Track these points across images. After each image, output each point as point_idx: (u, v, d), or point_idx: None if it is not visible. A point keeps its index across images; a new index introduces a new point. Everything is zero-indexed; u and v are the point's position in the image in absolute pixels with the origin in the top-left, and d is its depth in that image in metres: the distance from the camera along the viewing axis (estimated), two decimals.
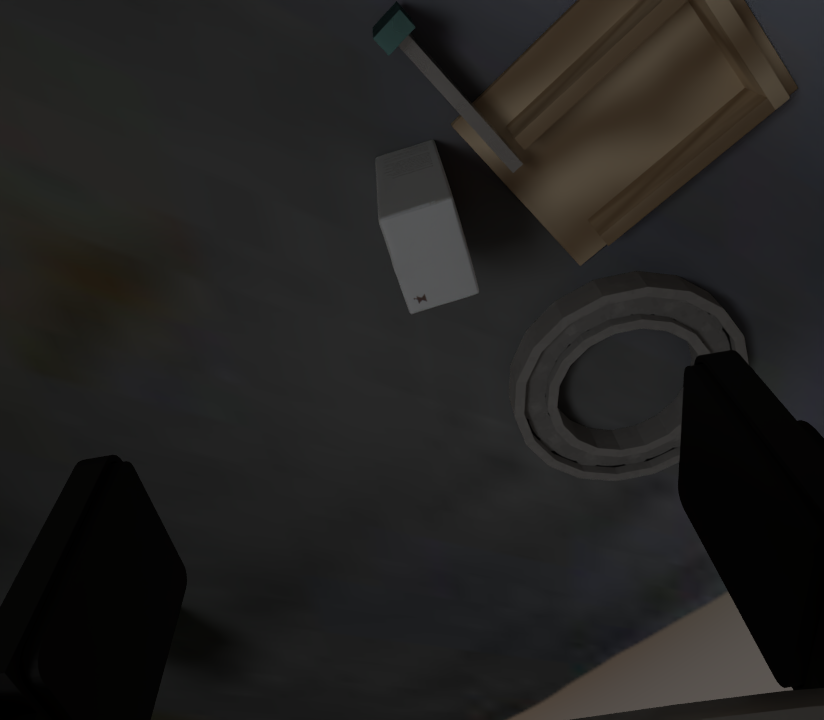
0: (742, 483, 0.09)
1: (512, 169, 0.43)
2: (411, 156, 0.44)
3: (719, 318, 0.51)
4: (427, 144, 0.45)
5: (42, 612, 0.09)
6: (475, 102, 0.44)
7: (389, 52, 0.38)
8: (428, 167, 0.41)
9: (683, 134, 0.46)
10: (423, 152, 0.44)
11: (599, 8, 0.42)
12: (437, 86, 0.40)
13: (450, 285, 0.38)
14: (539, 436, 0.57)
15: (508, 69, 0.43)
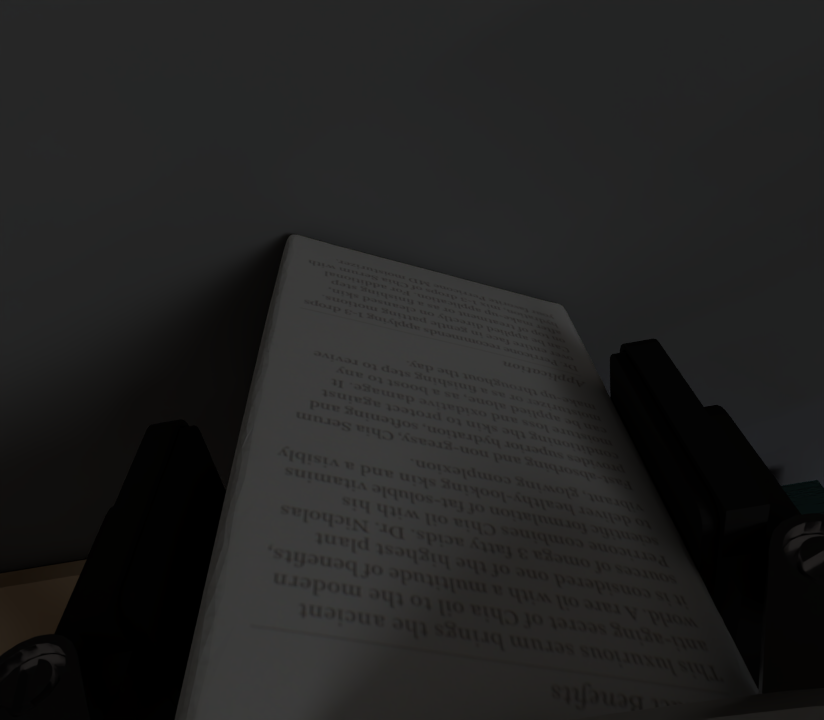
0: (653, 462, 0.10)
1: None
2: None
3: None
4: None
5: (133, 558, 0.09)
6: None
7: None
8: None
9: None
10: None
11: None
12: None
13: None
14: None
15: None
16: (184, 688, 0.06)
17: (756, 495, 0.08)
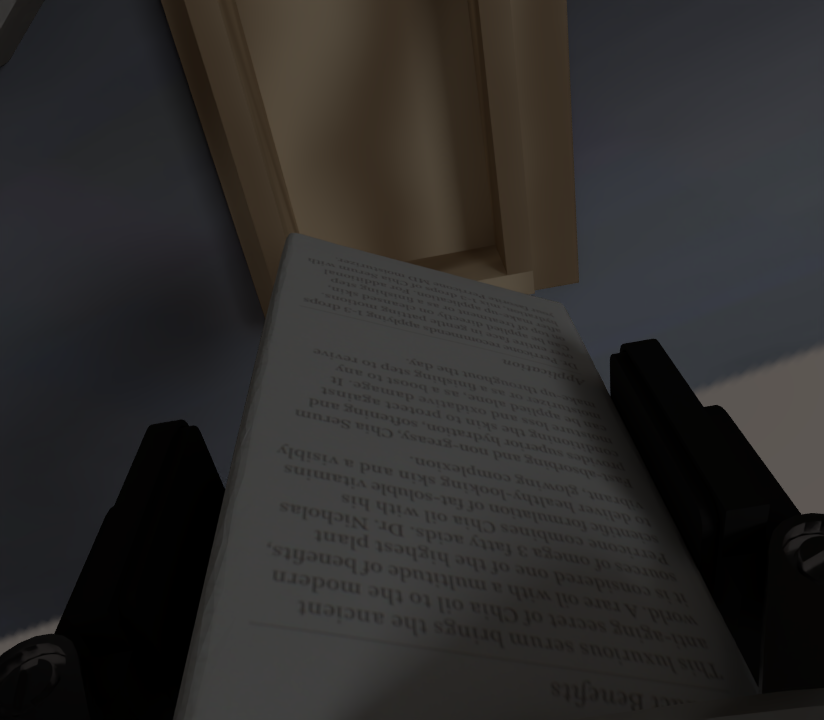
0: (653, 462, 0.10)
1: None
2: None
3: None
4: None
5: (134, 558, 0.09)
6: None
7: None
8: None
9: (291, 177, 0.28)
10: None
11: (542, 139, 0.27)
12: None
13: None
14: None
15: None
16: (182, 685, 0.06)
17: (755, 495, 0.08)
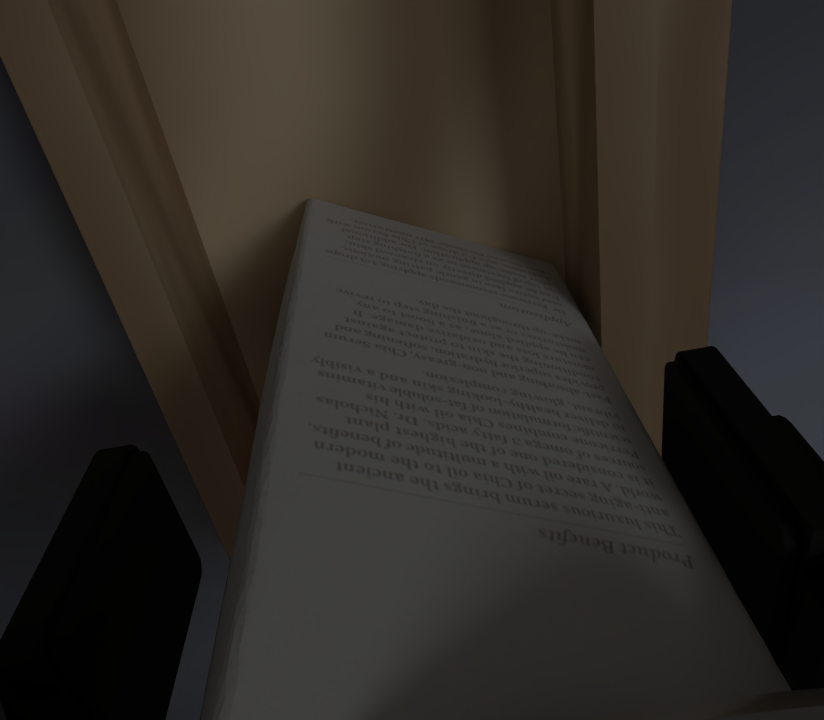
0: (718, 476, 0.09)
1: None
2: None
3: None
4: None
5: (66, 596, 0.09)
6: None
7: None
8: None
9: (248, 339, 0.17)
10: None
11: (663, 279, 0.17)
12: None
13: None
14: None
15: None
16: (250, 512, 0.07)
17: None
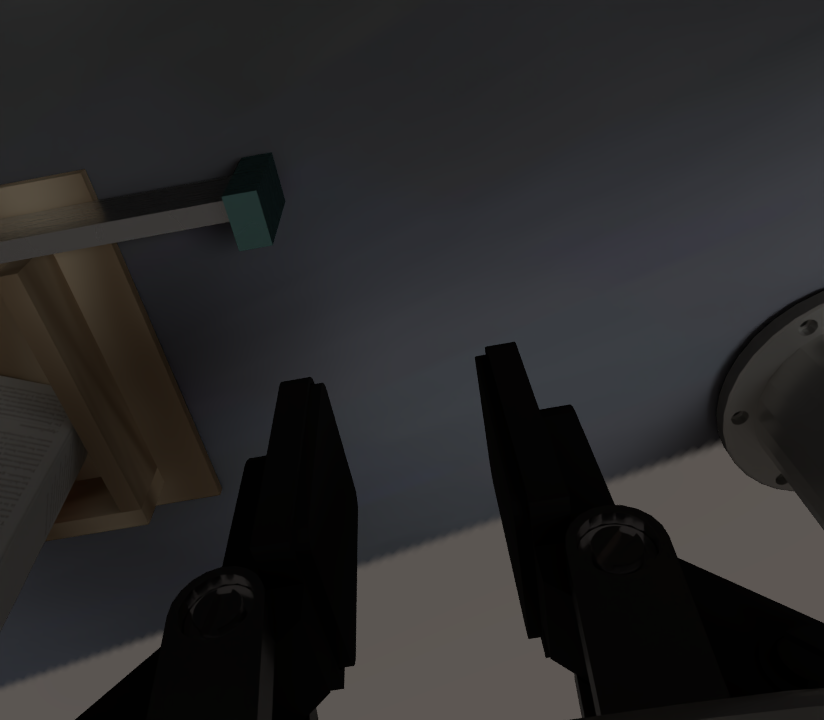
0: (496, 458, 0.11)
1: None
2: (72, 466, 0.32)
3: None
4: (81, 462, 0.34)
5: (298, 498, 0.10)
6: None
7: (225, 200, 0.23)
8: (44, 532, 0.30)
9: None
10: (72, 477, 0.32)
11: (153, 398, 0.33)
12: (145, 218, 0.25)
13: None
14: None
15: (128, 279, 0.30)
16: None
17: (559, 489, 0.09)
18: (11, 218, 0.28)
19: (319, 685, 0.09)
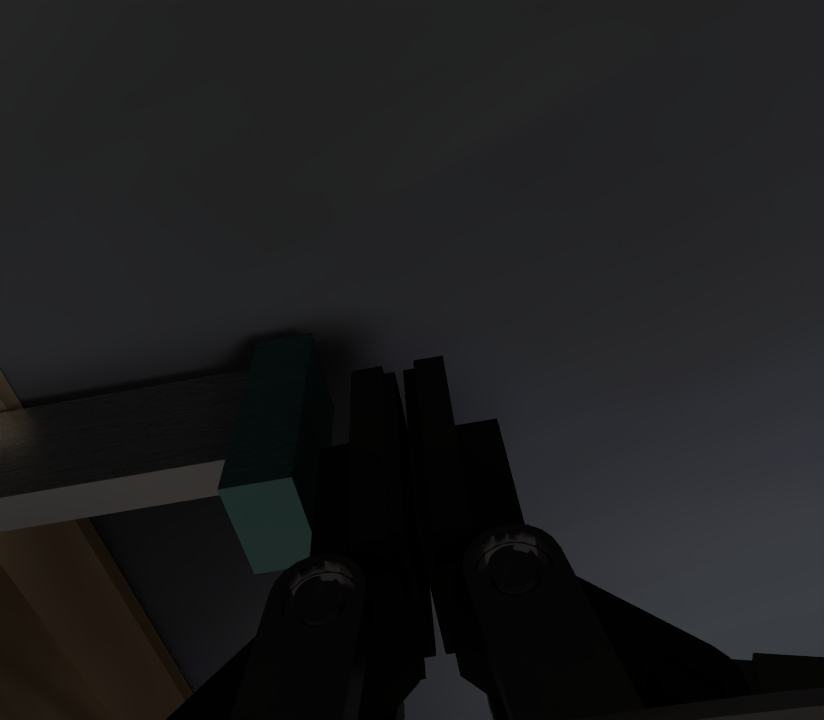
0: None
1: None
2: None
3: None
4: None
5: (388, 486, 0.09)
6: None
7: (225, 495, 0.11)
8: None
9: None
10: None
11: (125, 670, 0.21)
12: (68, 491, 0.13)
13: None
14: None
15: None
16: None
17: (461, 507, 0.09)
18: None
19: (410, 674, 0.09)
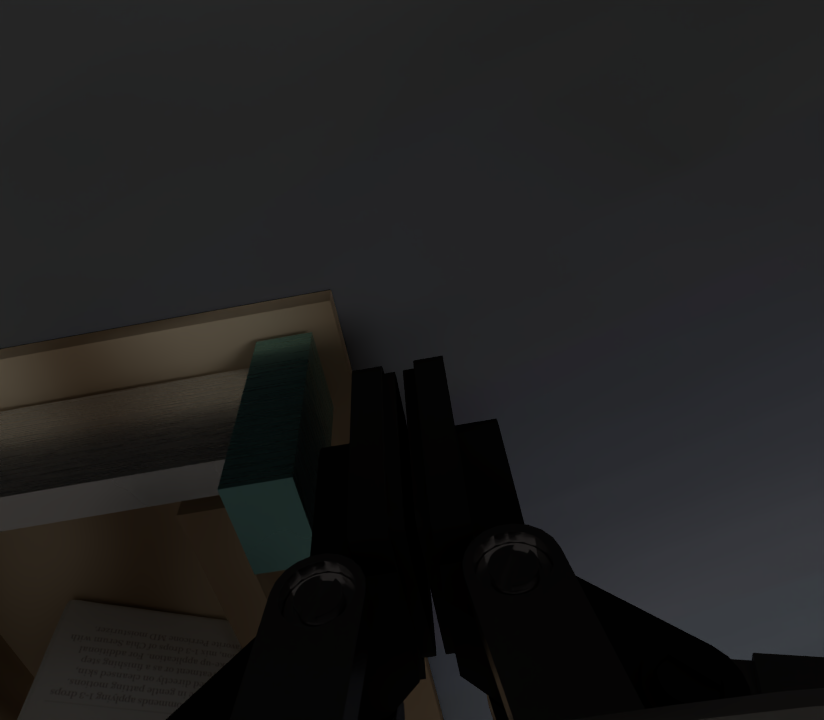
0: None
1: None
2: None
3: None
4: None
5: (388, 485, 0.09)
6: (350, 377, 0.16)
7: (225, 495, 0.11)
8: None
9: None
10: None
11: None
12: (66, 491, 0.13)
13: None
14: None
15: None
16: None
17: (461, 508, 0.09)
18: None
19: (410, 674, 0.09)
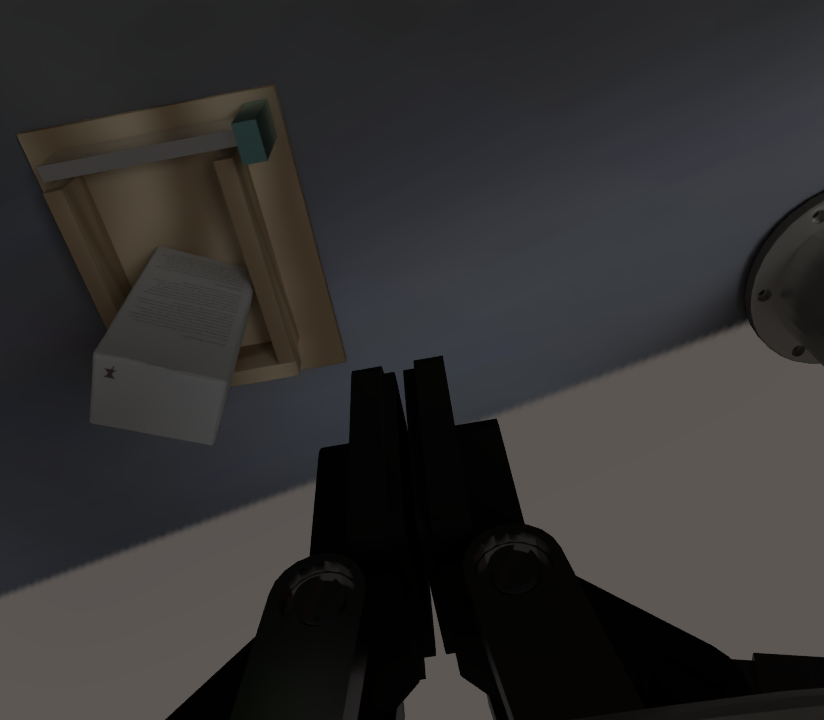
0: None
1: (41, 168, 0.35)
2: (245, 324, 0.41)
3: None
4: (245, 327, 0.43)
5: (388, 486, 0.09)
6: (283, 124, 0.38)
7: (233, 126, 0.33)
8: None
9: None
10: (243, 334, 0.41)
11: (303, 275, 0.42)
12: (174, 143, 0.34)
13: (113, 405, 0.32)
14: None
15: (297, 173, 0.39)
16: (110, 326, 0.33)
17: (461, 507, 0.09)
18: (72, 148, 0.37)
19: (410, 674, 0.09)
